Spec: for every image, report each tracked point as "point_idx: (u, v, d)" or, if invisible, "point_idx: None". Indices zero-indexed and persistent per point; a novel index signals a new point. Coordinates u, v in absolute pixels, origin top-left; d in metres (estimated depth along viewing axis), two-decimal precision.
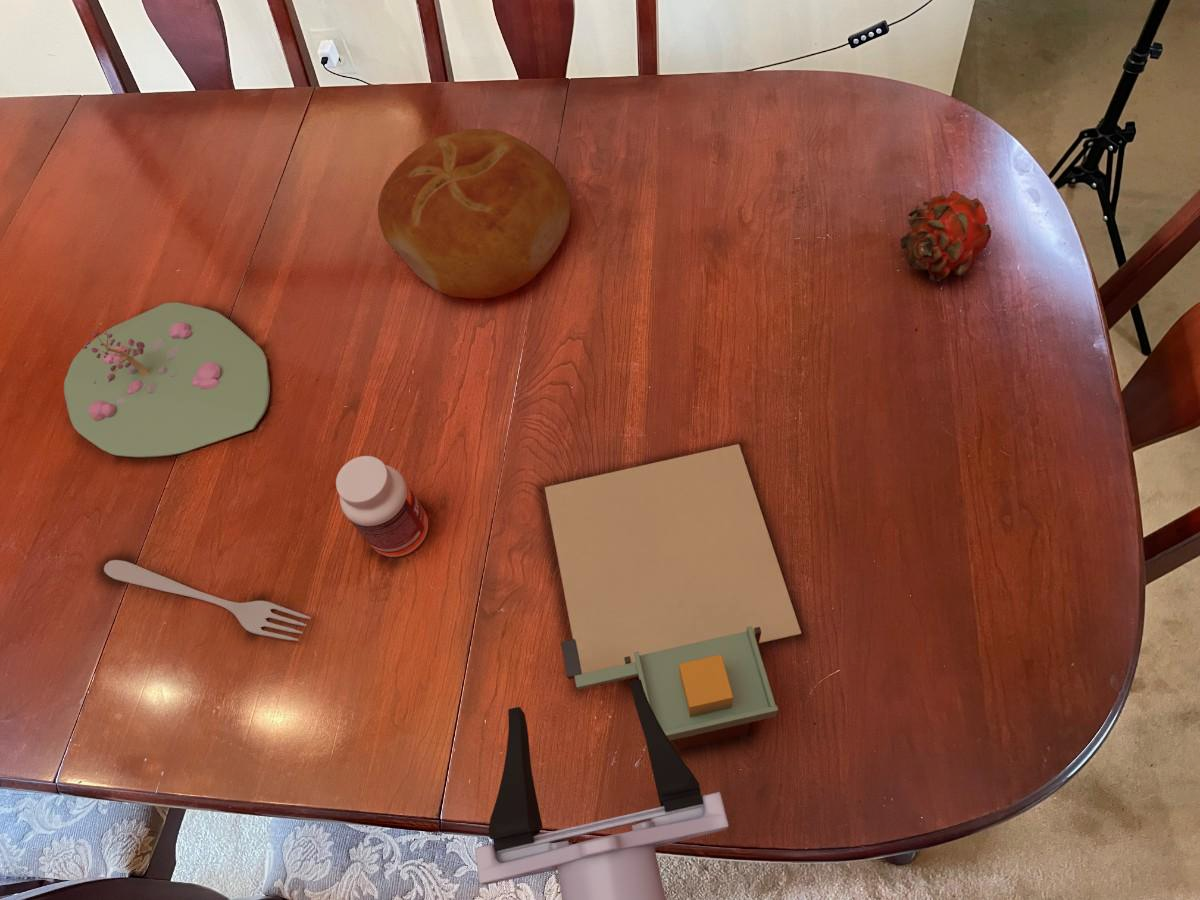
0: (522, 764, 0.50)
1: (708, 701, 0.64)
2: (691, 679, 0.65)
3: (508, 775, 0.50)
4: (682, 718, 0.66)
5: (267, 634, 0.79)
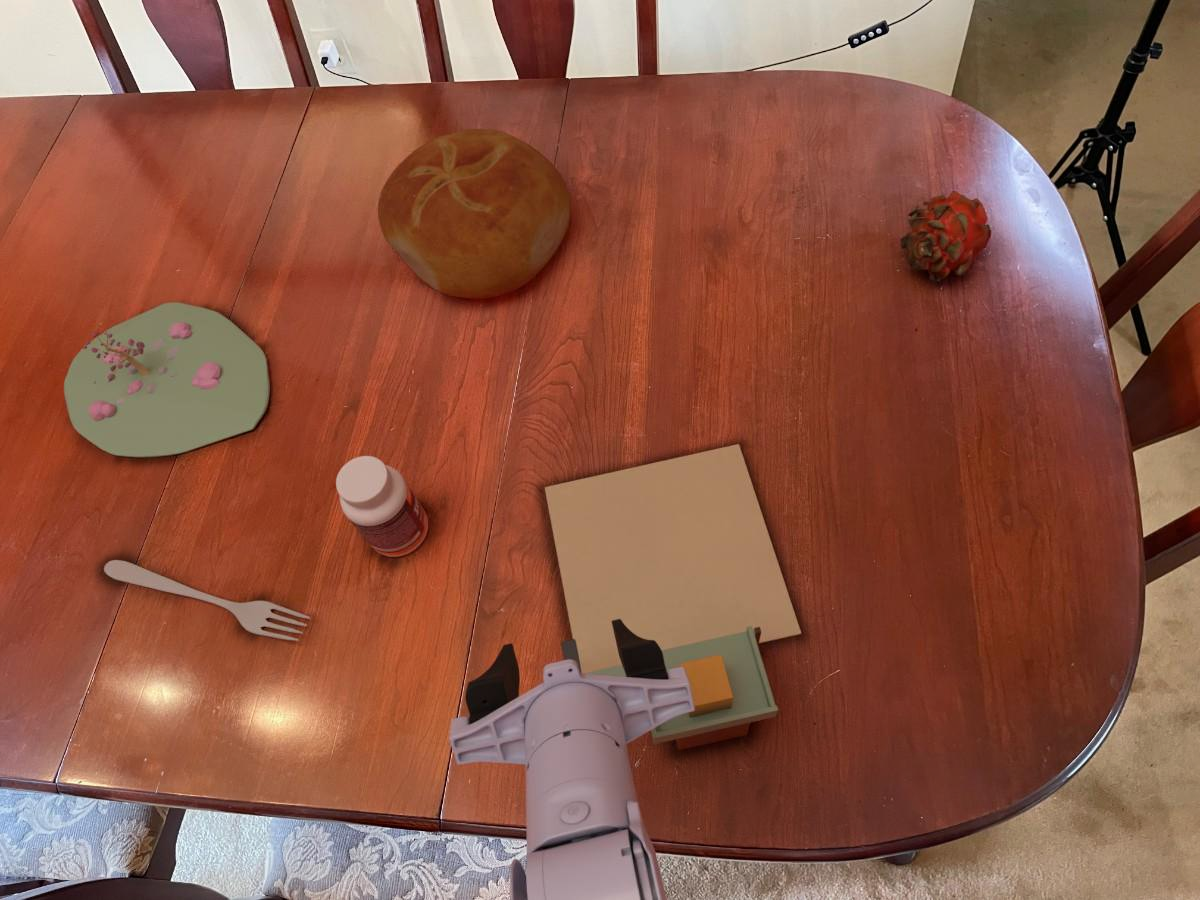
0: (506, 664, 0.55)
1: (708, 701, 0.64)
2: (691, 679, 0.65)
3: (492, 668, 0.54)
4: (682, 718, 0.66)
5: (267, 635, 0.79)
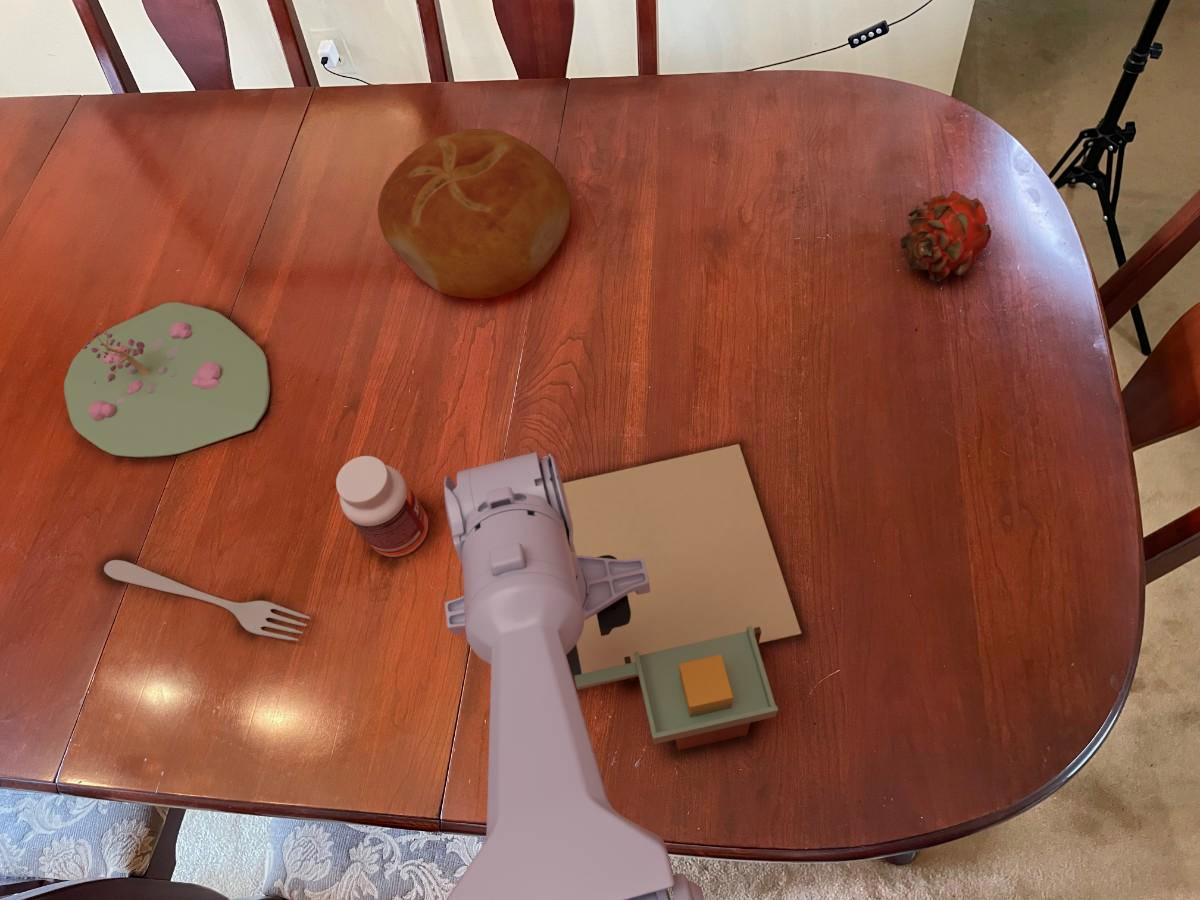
0: None
1: (708, 701, 0.64)
2: (691, 679, 0.65)
3: None
4: (682, 718, 0.66)
5: (267, 635, 0.79)
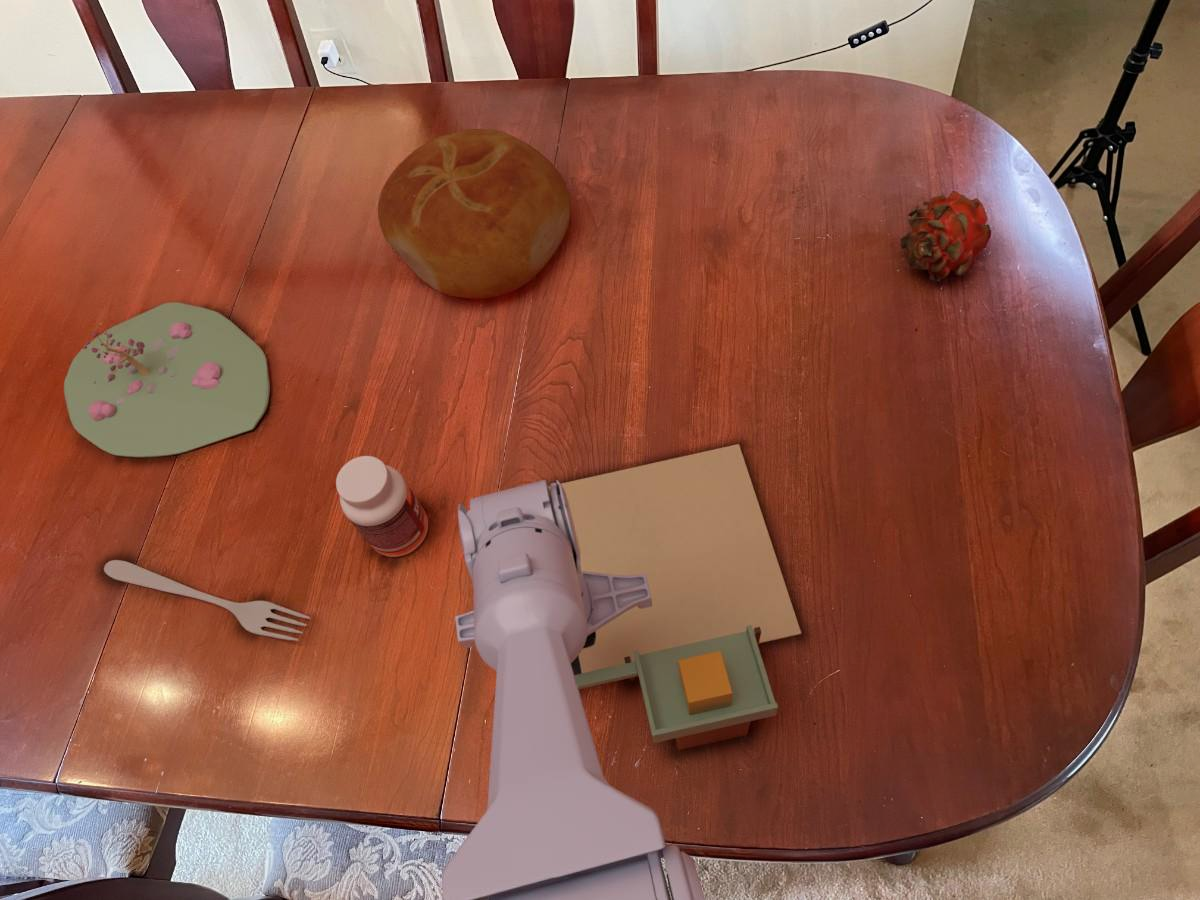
0: None
1: (707, 697, 0.63)
2: (690, 675, 0.65)
3: None
4: (682, 717, 0.66)
5: (267, 635, 0.79)
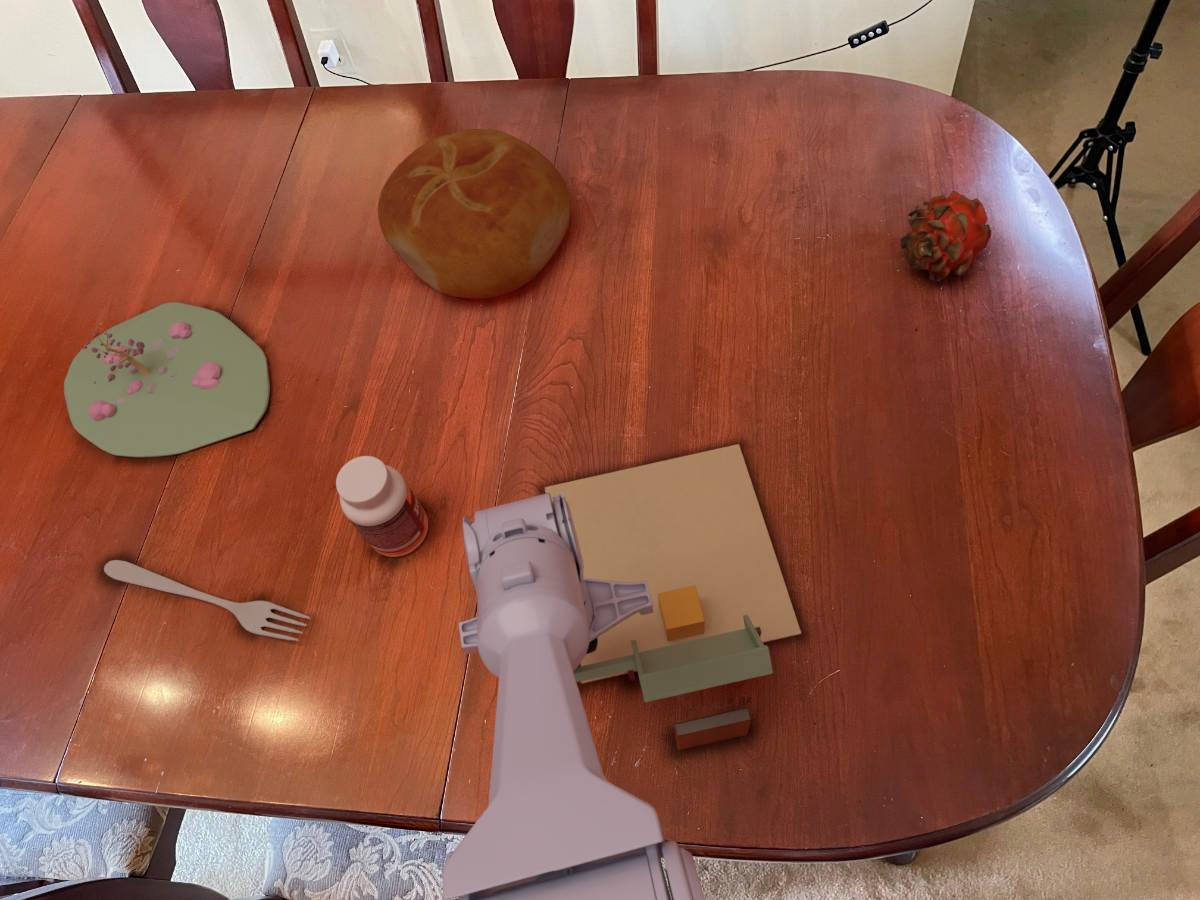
0: None
1: (673, 590, 0.75)
2: None
3: None
4: None
5: (267, 635, 0.79)
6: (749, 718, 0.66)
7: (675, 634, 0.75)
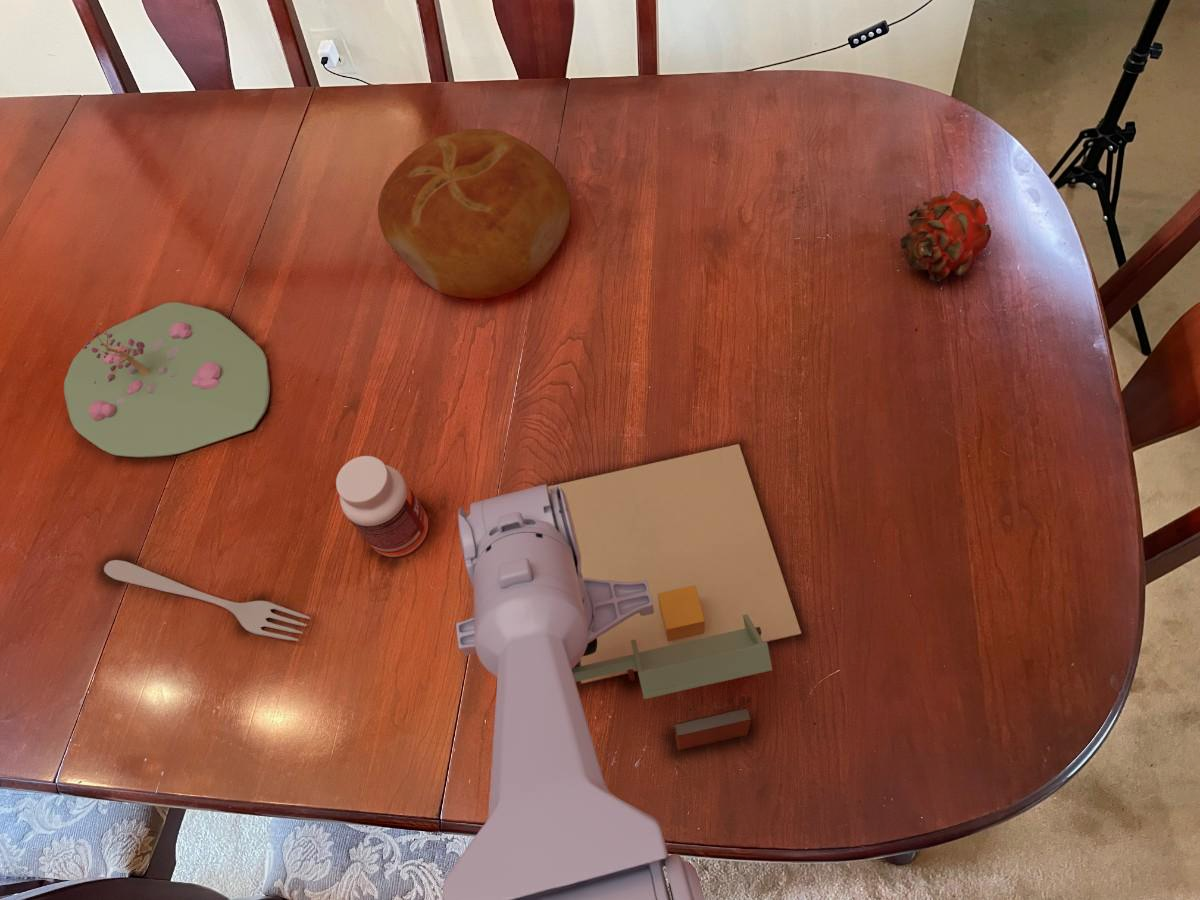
0: None
1: (673, 590, 0.75)
2: None
3: None
4: None
5: (267, 635, 0.79)
6: (749, 718, 0.66)
7: (675, 634, 0.75)
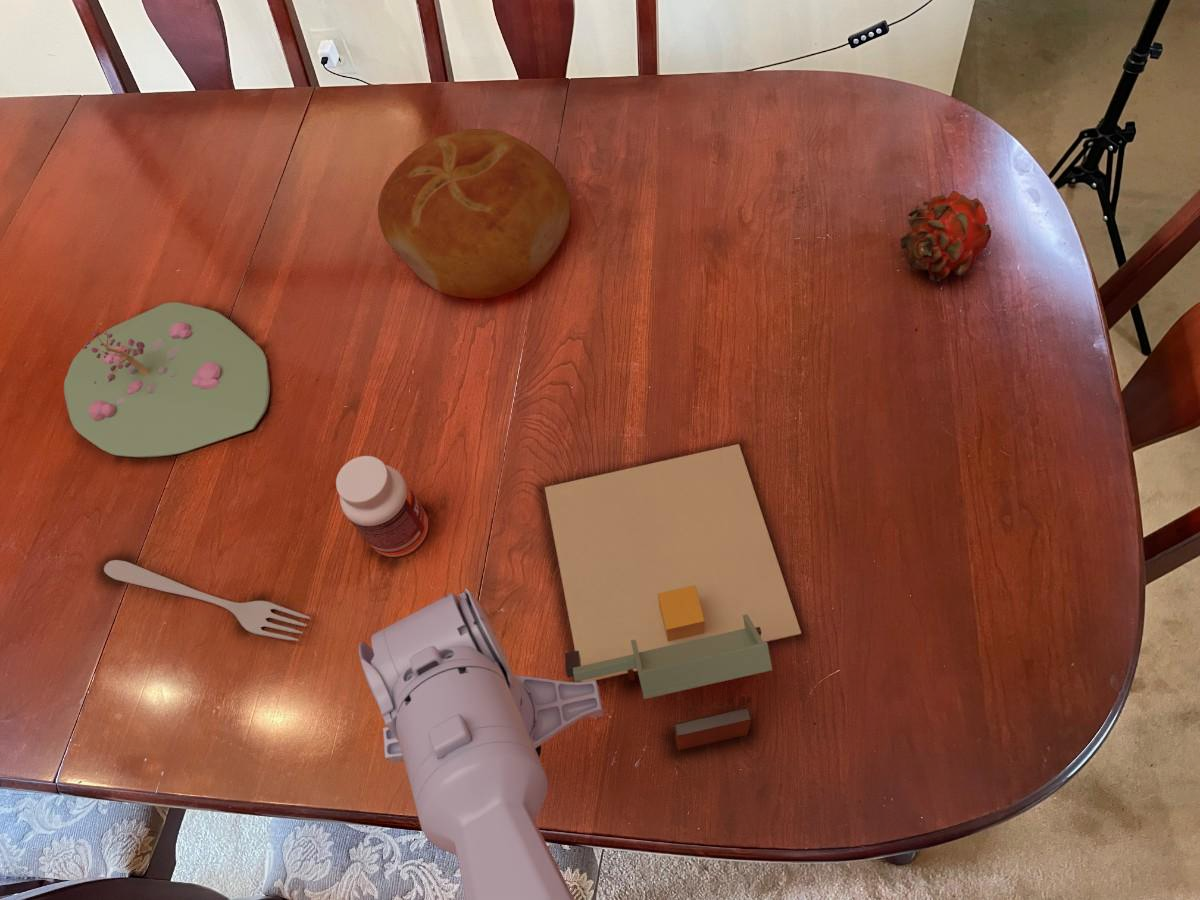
0: None
1: (673, 590, 0.75)
2: None
3: None
4: None
5: (267, 635, 0.79)
6: (749, 718, 0.66)
7: (675, 634, 0.75)
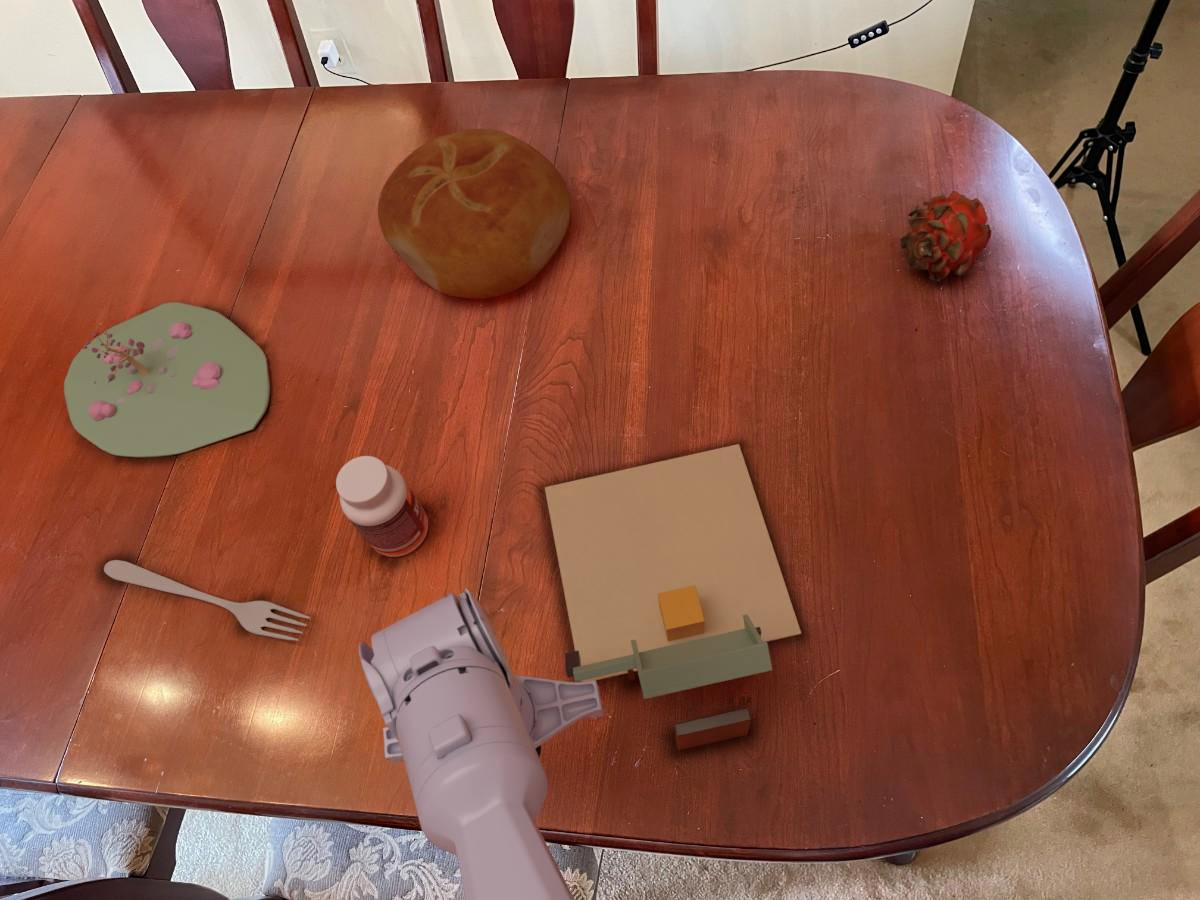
0: None
1: (673, 590, 0.75)
2: None
3: None
4: None
5: (267, 635, 0.79)
6: (749, 718, 0.66)
7: (675, 634, 0.75)
